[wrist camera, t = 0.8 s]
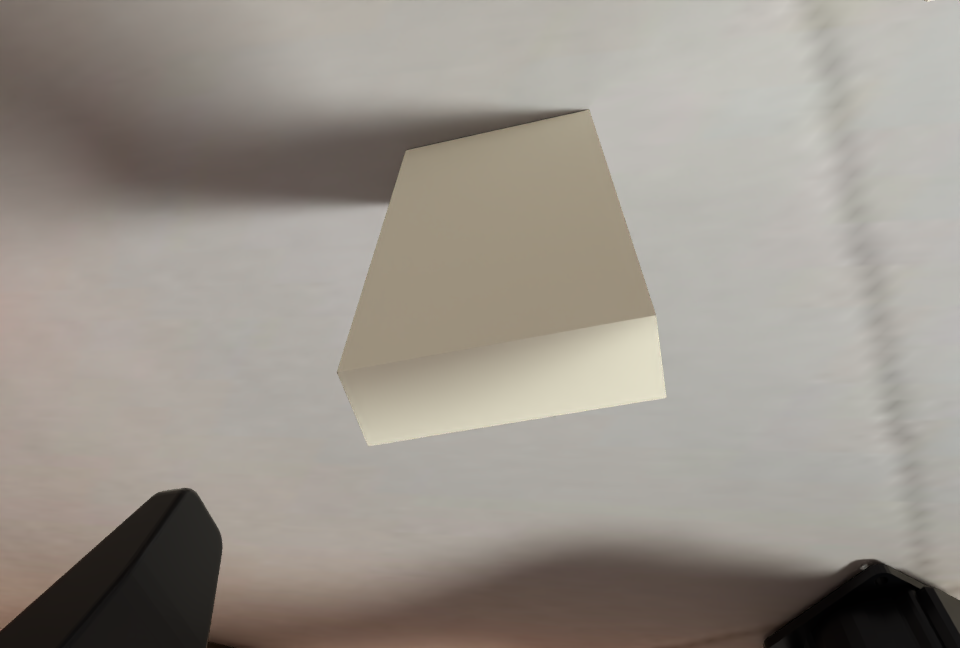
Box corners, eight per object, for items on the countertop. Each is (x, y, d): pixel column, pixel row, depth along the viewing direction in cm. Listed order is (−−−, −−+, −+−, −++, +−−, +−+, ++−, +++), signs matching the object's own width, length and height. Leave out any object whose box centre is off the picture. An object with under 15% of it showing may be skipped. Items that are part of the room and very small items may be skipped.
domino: (598, 166, 20) (666, 397, 12) (421, 203, 21) (367, 446, 13) (589, 109, 19) (656, 315, 11) (405, 150, 20) (336, 372, 12)
